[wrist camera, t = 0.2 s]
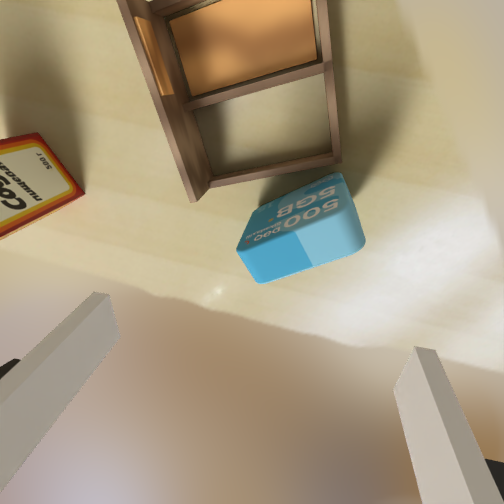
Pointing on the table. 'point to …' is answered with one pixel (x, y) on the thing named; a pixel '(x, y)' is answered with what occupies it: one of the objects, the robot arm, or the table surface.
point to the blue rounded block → (301, 230)
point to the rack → (226, 70)
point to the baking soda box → (31, 183)
